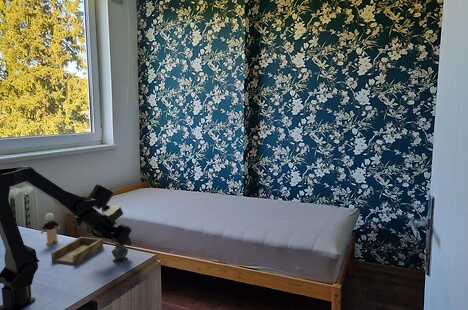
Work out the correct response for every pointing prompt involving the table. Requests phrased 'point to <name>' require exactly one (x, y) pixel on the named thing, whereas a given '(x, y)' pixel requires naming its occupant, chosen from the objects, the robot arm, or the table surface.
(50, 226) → the grandmother figurine
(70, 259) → the open-ended wooden tray
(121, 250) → the grey tiered stone figure
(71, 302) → the table surface
